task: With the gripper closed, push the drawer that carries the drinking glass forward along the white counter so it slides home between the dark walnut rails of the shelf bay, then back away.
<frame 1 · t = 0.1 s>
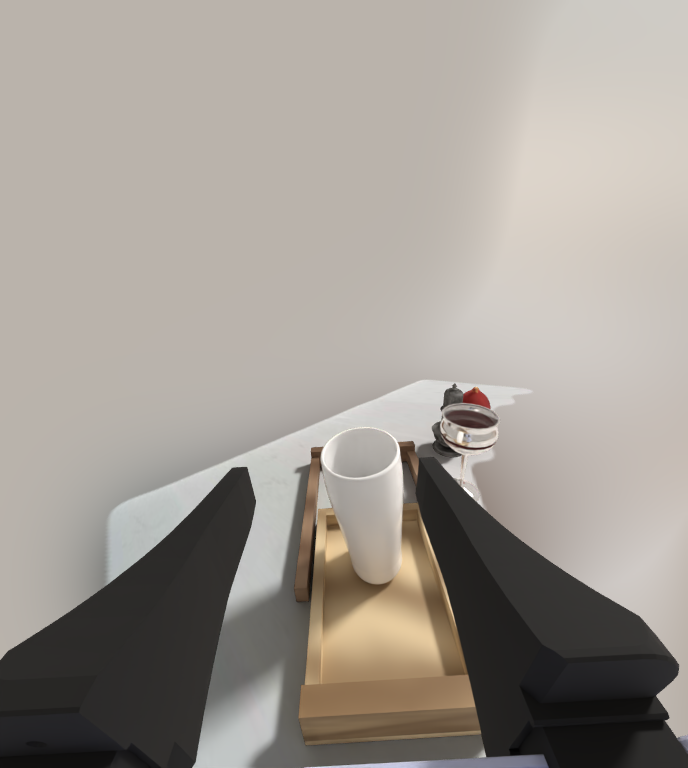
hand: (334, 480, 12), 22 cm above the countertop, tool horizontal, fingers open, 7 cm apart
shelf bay: (370, 513, 37), on the countertop
onion: (470, 424, 55), on the countertop
drinking glass: (377, 561, 30), point 1 cm above the countertop, touching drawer
salt shaker: (448, 448, 49), on the countertop
wineglass: (460, 491, 40), on the countertop
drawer: (381, 583, 27), point 2 cm above the countertop, slide at 0.0 cm, touching drinking glass
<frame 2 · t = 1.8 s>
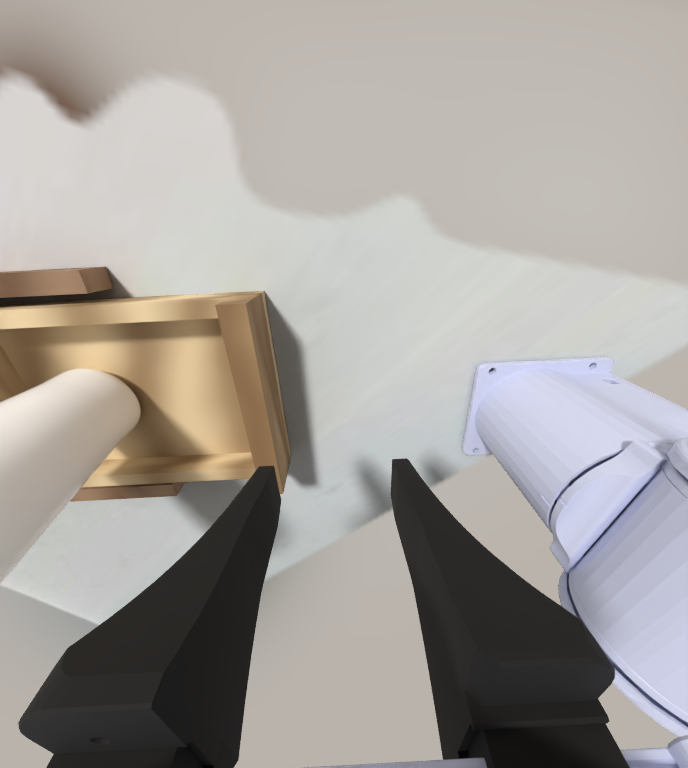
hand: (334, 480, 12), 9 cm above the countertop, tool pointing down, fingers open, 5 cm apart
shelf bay: (15, 398, 20), on the countertop
drinking glass: (106, 397, 20), point 1 cm above the countertop, touching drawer
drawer: (137, 405, 18), point 2 cm above the countertop, slide at 0.0 cm, touching drinking glass
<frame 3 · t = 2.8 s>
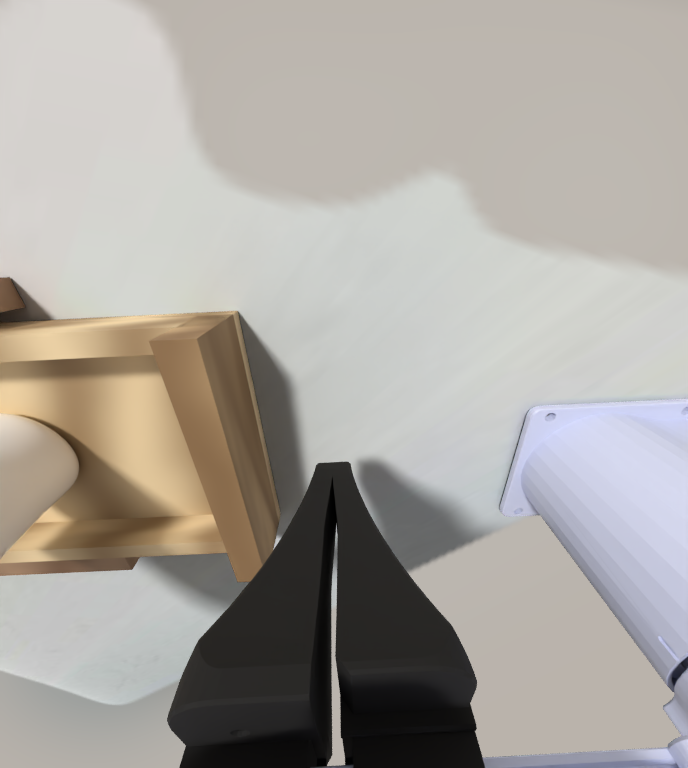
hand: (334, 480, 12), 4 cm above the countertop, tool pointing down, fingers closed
drinking glass: (34, 448, 15), resting on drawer
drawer: (65, 466, 13), point 2 cm above the countertop, slide at 0.0 cm, touching drinking glass
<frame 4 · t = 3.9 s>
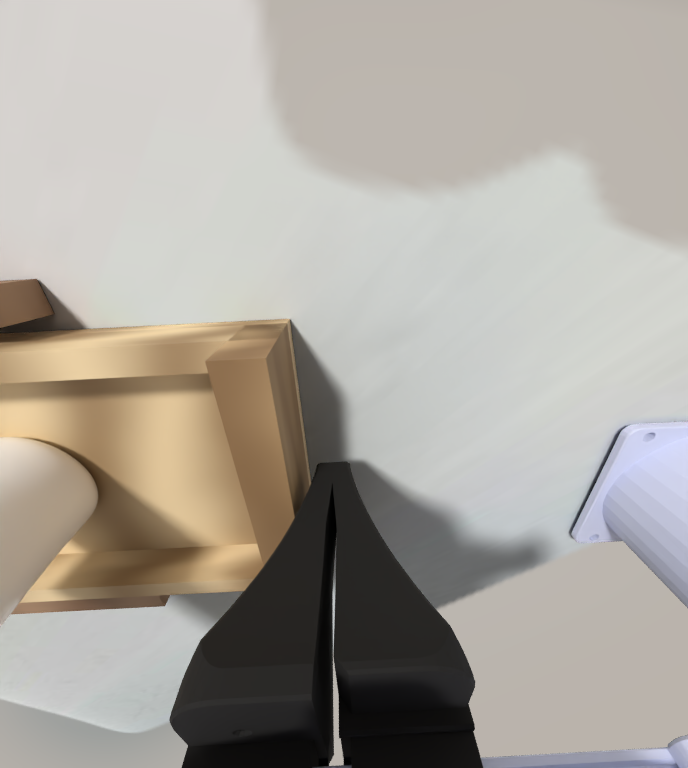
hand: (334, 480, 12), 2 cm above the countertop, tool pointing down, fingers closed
drinking glass: (46, 474, 13), resting on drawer
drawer: (85, 498, 12), point 2 cm above the countertop, slide at 0.5 cm, touching drinking glass, gripper
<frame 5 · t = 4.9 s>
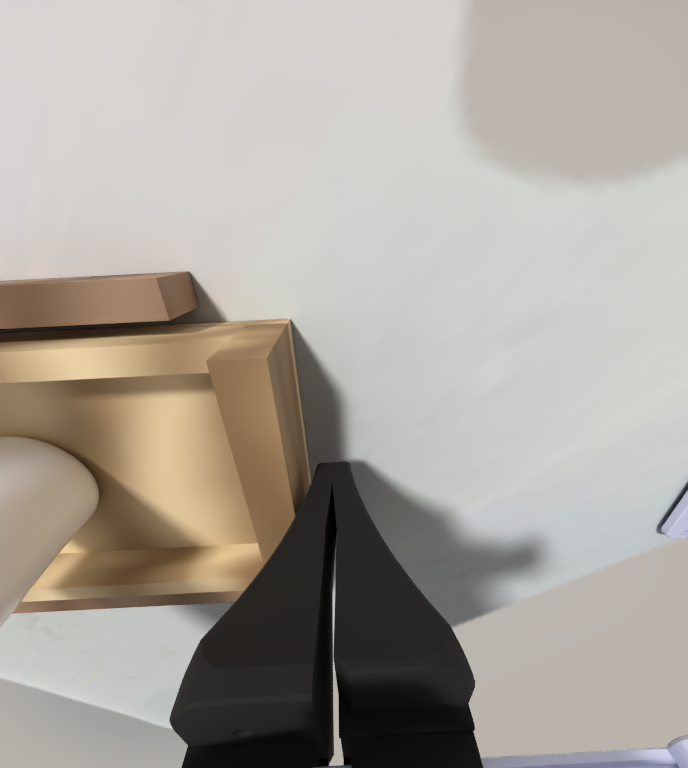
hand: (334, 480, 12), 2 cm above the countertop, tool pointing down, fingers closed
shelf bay: (30, 468, 13), on the countertop
drinking glass: (48, 473, 13), resting on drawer
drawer: (86, 498, 12), point 2 cm above the countertop, slide at 5.8 cm, touching drinking glass, gripper
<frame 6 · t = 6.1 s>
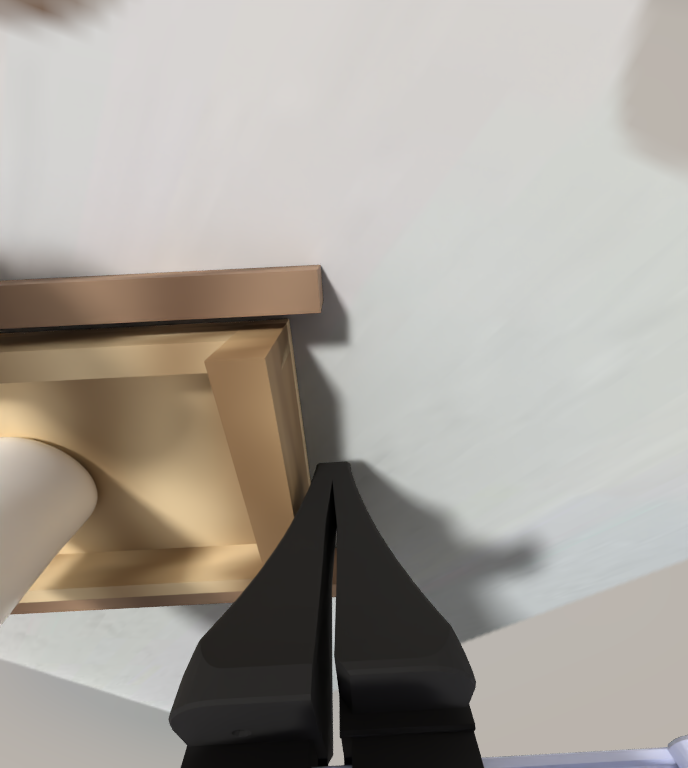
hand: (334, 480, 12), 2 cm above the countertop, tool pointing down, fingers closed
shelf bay: (124, 464, 13), on the countertop
drinking glass: (46, 474, 13), resting on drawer
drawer: (84, 498, 12), point 2 cm above the countertop, slide at 10.3 cm, touching drinking glass, gripper
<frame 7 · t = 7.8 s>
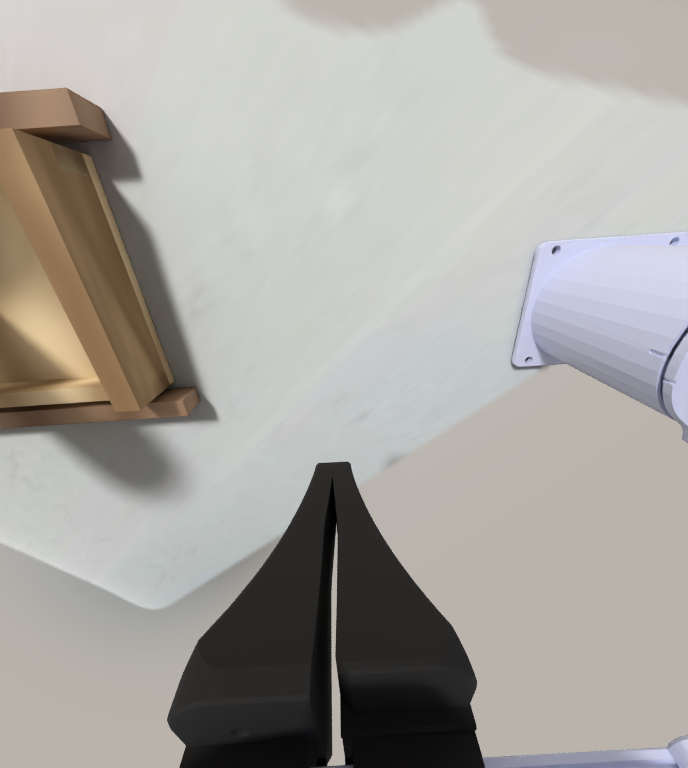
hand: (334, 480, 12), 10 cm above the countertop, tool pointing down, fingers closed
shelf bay: (1, 296, 18), on the countertop
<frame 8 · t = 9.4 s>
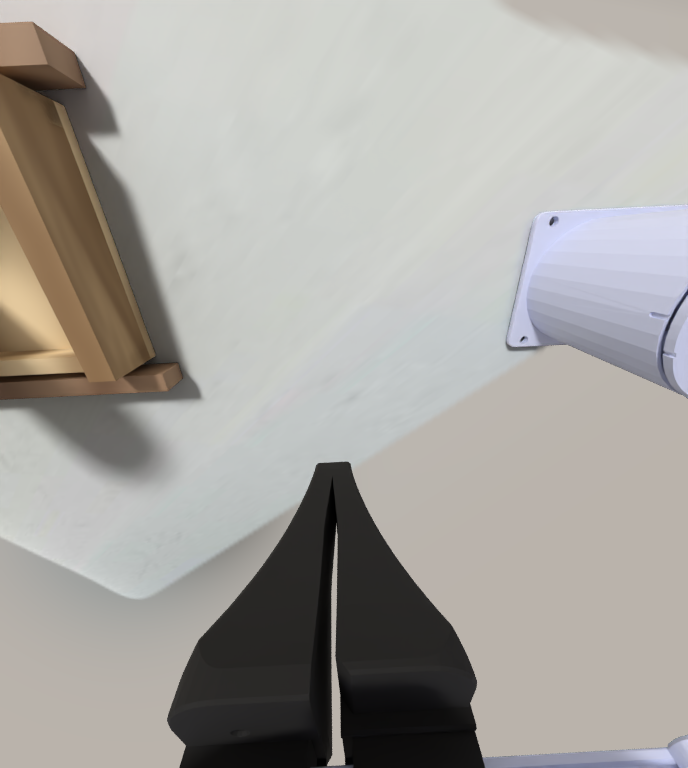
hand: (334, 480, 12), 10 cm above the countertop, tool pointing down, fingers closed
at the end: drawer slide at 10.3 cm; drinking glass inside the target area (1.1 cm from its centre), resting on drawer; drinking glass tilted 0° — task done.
